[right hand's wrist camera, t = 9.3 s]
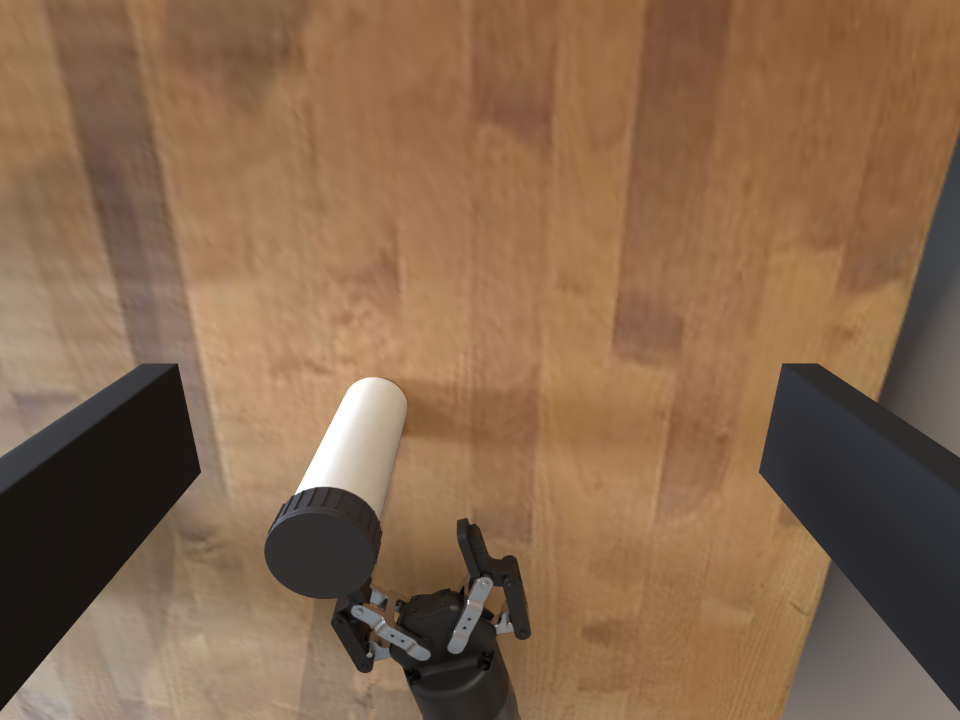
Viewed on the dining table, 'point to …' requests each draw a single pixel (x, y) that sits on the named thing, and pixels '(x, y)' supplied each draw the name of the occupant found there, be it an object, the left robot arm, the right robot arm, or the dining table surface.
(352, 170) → the dining table surface
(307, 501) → the lid
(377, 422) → the jar
